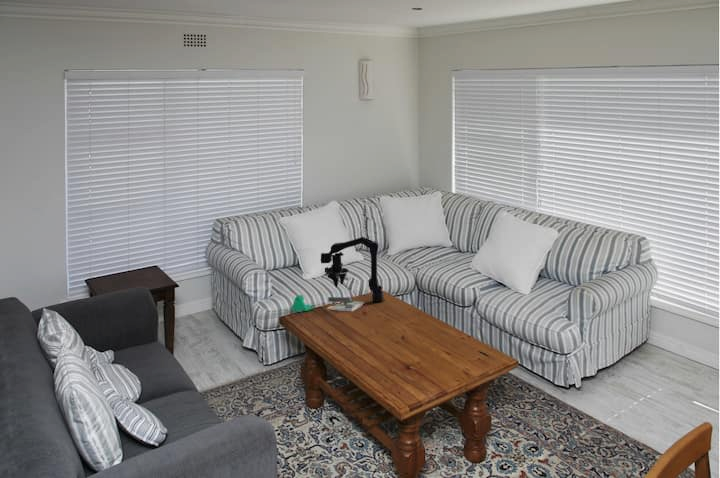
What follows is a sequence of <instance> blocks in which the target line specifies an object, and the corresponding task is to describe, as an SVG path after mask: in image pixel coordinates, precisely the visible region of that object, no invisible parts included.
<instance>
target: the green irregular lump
mask: <svg viewBox="0 0 720 478" xmlns="http://www.w3.org/2000/svg"><path fill="white" fill-rule="evenodd" d="M304 301H305V299H304V296H303V295H301V294H298V295H296V296H295V298H294V300H293V303H292V306H291V310H293V311H294V310H295V311H296V312H300V313H302V312H306V311H310V310H312V309H314V306H313V305H310V304H306V303H305V302H304Z"/></svg>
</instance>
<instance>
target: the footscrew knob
mask: <svg viewBox="0 0 720 478" xmlns="http://www.w3.org/2000/svg"><path fill="white" fill-rule="evenodd" d="M327 299H328V302H330V303H337V302H344V305H346V303H353V297H349V296H347V297H341V296H340V297H335V296H329V297H327Z"/></svg>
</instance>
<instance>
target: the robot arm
mask: <svg viewBox="0 0 720 478" xmlns="http://www.w3.org/2000/svg"><path fill="white" fill-rule="evenodd" d="M361 244H362V245H363V246H365V247H367V248H368V249H369V253H370V276H371V277H370V278H368V286H367V287H368V288H369V290H370V291H371V293H372V295H371V297H372V298H371V299H372V301H371V303H376V304H377V303H382V302H385V299H384V292H383V287H382V286H381V285H380V283H379V278H378V252H379V248H380V244H379V242H378V241H376V240H375V241H373V240H372V239H368V238H367V237H365V236H360V237H358V238H355V239H350V240H348V241H345V242H335V243H333V244H332V245H331V246H330V251H329V252H321V253H320V263H321V264H330V263H331V262H332V264H331V265H330V267H328V266H327V267H324V273H325V274H327V278H328V279H331V281H332V283H333V284H334V287H335V288H338V286H339V283H340V285H342V286H343V285H344V282H345V278H346V276H347V274H348V273H349V269H348V268H347V267H343V265H344V264H343V262H342V256H344V255H345V254H344V253H343V252H342V251H343V250H345V249H348V248H351V247H354V246H357V245H361ZM339 281H340V282H339Z"/></svg>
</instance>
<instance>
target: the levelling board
mask: <svg viewBox="0 0 720 478" xmlns="http://www.w3.org/2000/svg"><path fill="white" fill-rule="evenodd" d="M352 301H353V300H352ZM336 303H340V302H334V304H336ZM363 304H364V305H365V301H357V300H356V301H353V303H346V305H344V303H341V304H336V305H334V306H331V305H330V306H328V307H326V310H327V309H332V310H338V312H354V311H355V310H356V309H359V308H360V307H362V306H364V305H363Z"/></svg>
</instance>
